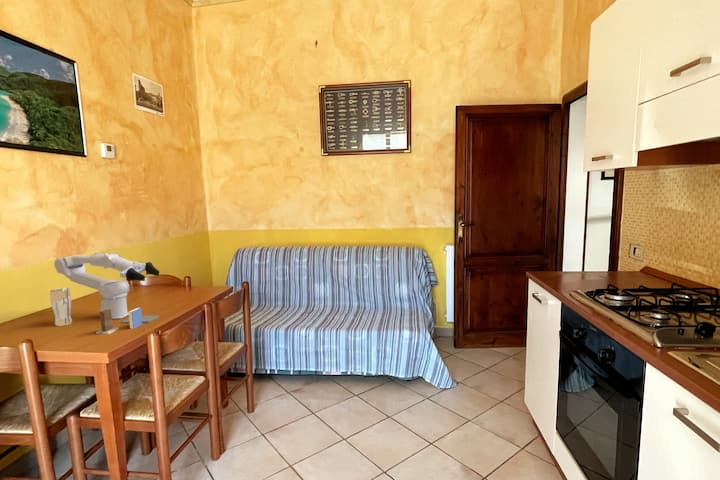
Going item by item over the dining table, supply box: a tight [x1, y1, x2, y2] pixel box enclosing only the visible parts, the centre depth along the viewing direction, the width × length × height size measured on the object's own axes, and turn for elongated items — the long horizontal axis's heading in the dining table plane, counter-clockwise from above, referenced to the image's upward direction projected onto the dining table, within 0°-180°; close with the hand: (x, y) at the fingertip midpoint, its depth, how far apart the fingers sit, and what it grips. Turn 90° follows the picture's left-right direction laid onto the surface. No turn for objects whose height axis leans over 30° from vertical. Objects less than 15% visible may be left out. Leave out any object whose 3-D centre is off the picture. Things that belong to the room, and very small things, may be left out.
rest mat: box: [120, 315, 160, 324], centre depth 165 cm, size 12×8×1 cm, turn 89°
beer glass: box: [49, 287, 73, 327], centre depth 162 cm, size 7×7×15 cm
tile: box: [128, 307, 144, 330], centre depth 157 cm, size 2×6×7 cm, turn 179°
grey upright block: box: [95, 309, 119, 335], centre depth 151 cm, size 5×6×9 cm
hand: (151, 276), depth 164 cm, fingers open, 7 cm apart
